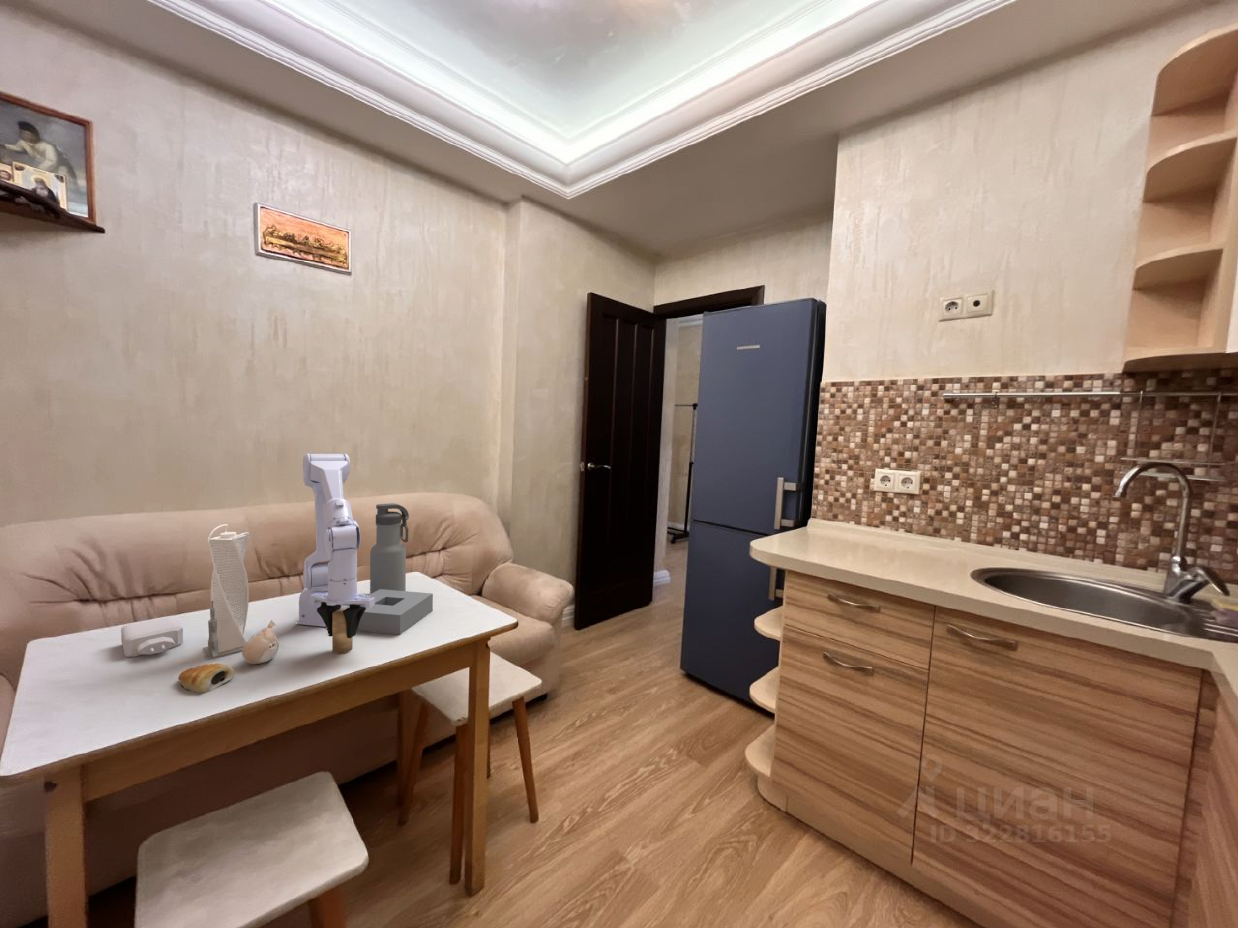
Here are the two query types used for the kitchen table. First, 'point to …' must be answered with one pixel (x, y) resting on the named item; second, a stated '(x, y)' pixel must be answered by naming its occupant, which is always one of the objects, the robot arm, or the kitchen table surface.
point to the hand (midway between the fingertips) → (342, 635)
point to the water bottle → (389, 549)
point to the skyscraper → (227, 594)
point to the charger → (151, 636)
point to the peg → (340, 633)
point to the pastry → (205, 677)
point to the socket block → (395, 611)
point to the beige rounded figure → (261, 646)
